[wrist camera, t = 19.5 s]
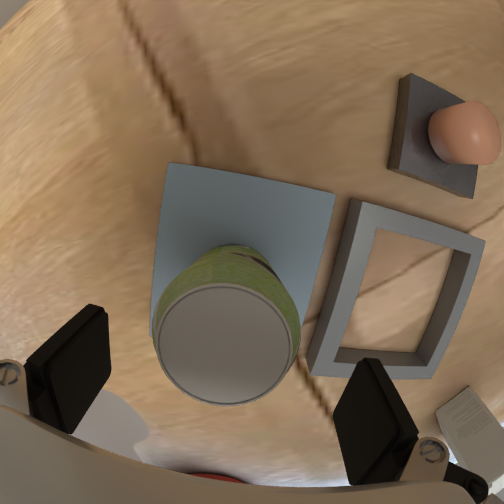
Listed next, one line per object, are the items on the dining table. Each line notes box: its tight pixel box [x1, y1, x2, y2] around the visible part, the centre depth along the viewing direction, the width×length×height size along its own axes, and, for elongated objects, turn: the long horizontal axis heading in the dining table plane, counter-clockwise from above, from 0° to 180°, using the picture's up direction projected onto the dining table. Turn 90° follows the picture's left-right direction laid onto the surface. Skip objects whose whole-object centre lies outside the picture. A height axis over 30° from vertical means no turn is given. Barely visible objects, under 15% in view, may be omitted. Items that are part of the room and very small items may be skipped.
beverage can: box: [152, 243, 301, 406], centre depth 15 cm, size 6×7×12 cm
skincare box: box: [435, 386, 504, 495], centre depth 20 cm, size 8×6×15 cm
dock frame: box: [306, 199, 486, 379], centre depth 22 cm, size 14×13×2 cm
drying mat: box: [150, 162, 336, 337], centre depth 22 cm, size 14×12×1 cm
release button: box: [428, 101, 501, 165], centre depth 15 cm, size 4×4×4 cm
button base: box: [387, 73, 478, 199], centre depth 18 cm, size 8×8×2 cm
